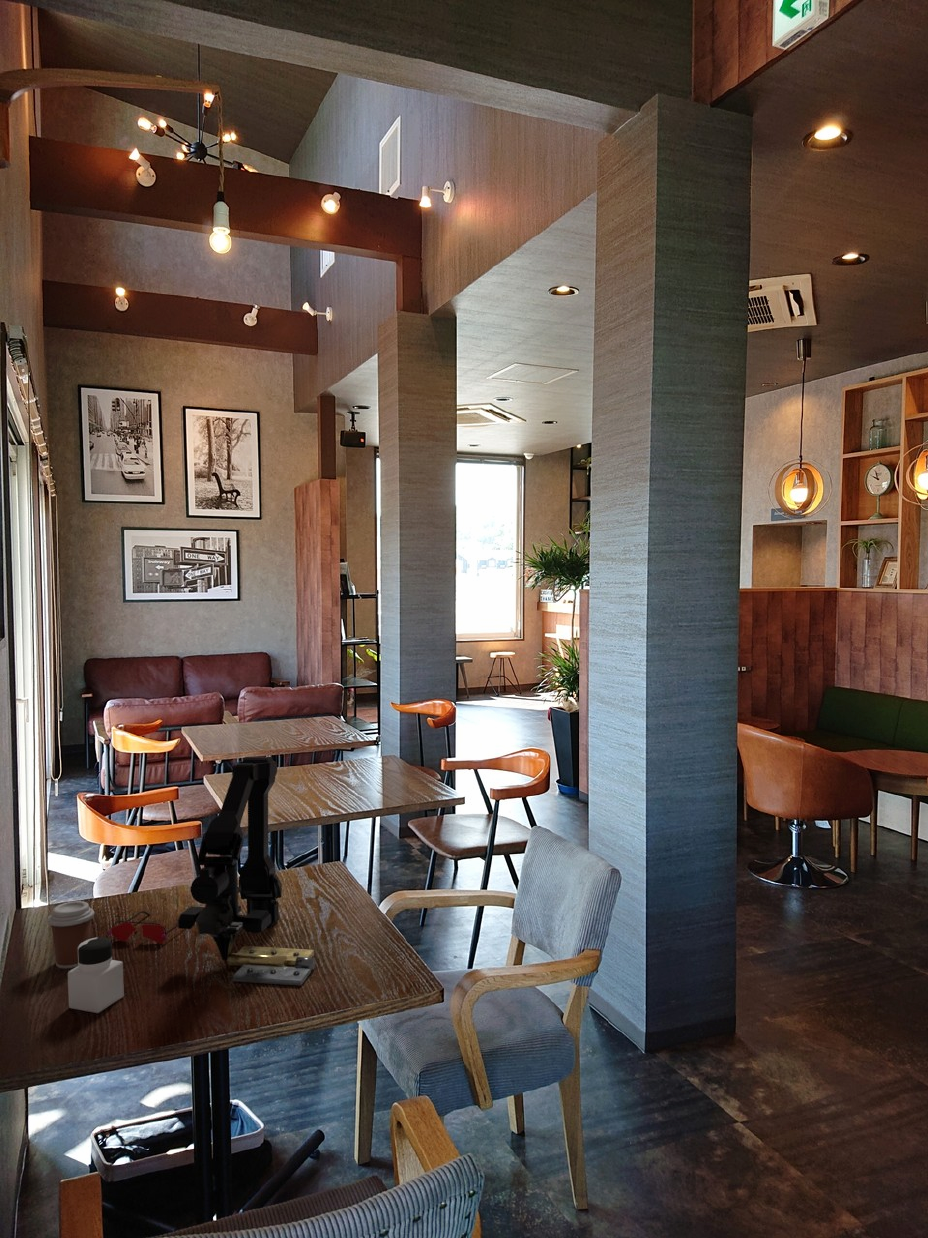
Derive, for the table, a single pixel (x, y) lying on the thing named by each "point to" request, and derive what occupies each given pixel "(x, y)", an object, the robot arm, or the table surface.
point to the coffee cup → (70, 931)
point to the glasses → (148, 931)
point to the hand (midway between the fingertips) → (225, 959)
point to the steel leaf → (276, 973)
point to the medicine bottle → (95, 977)
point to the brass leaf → (267, 956)
